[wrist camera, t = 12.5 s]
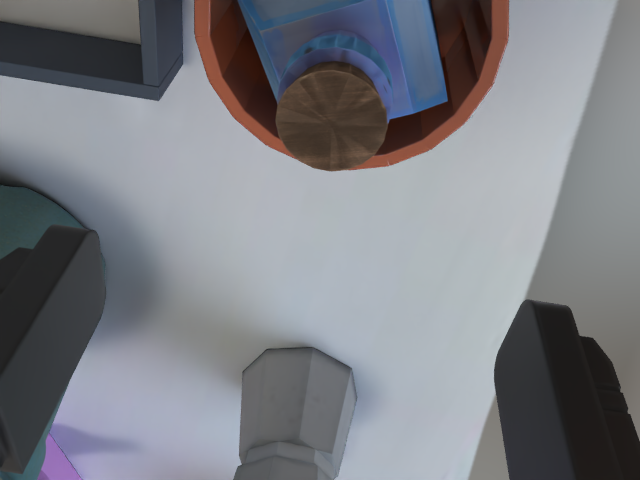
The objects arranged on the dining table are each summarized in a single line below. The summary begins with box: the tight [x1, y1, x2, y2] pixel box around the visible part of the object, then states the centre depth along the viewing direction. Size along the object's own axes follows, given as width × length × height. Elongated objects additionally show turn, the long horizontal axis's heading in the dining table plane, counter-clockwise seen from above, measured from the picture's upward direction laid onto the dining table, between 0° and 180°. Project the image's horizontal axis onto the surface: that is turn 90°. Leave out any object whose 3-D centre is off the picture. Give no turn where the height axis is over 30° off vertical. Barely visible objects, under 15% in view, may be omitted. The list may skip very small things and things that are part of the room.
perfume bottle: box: [238, 0, 448, 171], centre depth 22 cm, size 6×6×12 cm
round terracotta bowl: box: [194, 0, 509, 170], centre depth 25 cm, size 11×11×6 cm
